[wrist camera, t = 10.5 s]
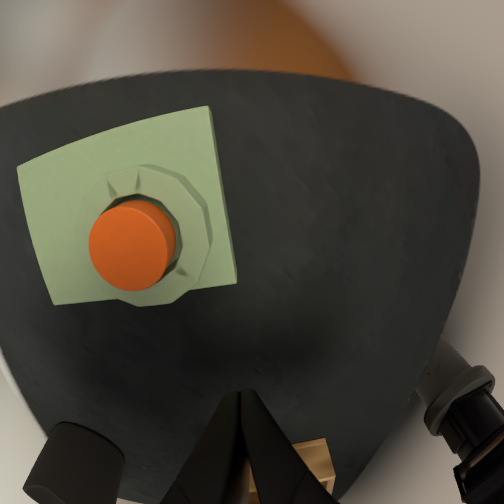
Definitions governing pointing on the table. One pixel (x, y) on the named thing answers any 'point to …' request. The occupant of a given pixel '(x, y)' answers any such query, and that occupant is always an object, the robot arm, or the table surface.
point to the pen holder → (75, 468)
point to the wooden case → (316, 461)
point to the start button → (132, 245)
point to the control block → (128, 189)
